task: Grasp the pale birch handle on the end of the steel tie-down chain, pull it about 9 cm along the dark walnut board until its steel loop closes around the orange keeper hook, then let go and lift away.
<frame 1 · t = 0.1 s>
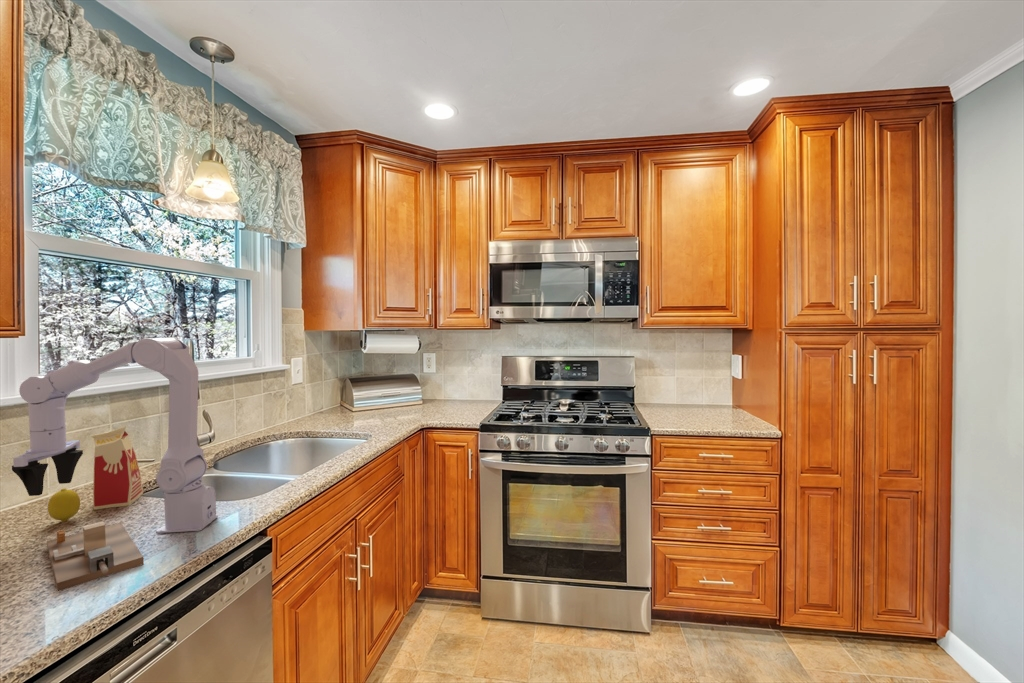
hand: (50, 488, 103), 10 cm above the countertop, tool pointing down, fingers open, 7 cm apart
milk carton: (116, 502, 122), on the countertop
keeper board: (93, 555, 93), on the countertop
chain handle: (82, 548, 87), point 4 cm above the countertop, slide at 0.0 cm
lemon: (65, 522, 110), on the countertop
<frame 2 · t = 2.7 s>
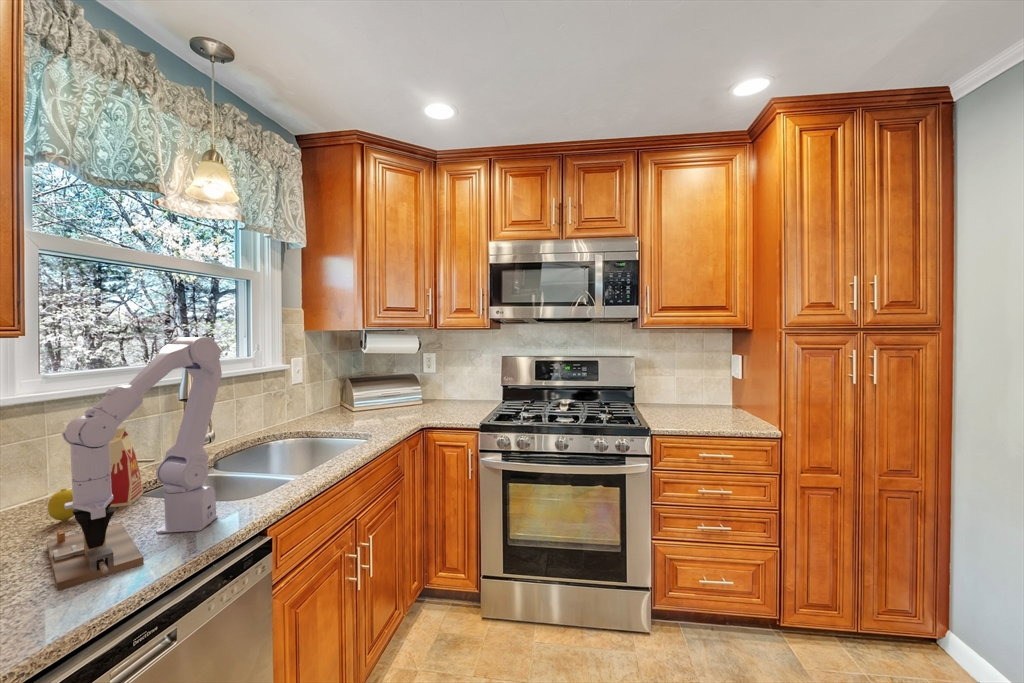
hand: (94, 544, 91), 3 cm above the countertop, tool pointing down, fingers closed on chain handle, 2 cm apart
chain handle: (82, 548, 87), point 4 cm above the countertop, slide at 0.0 cm, touching gripper
everything else where it was.
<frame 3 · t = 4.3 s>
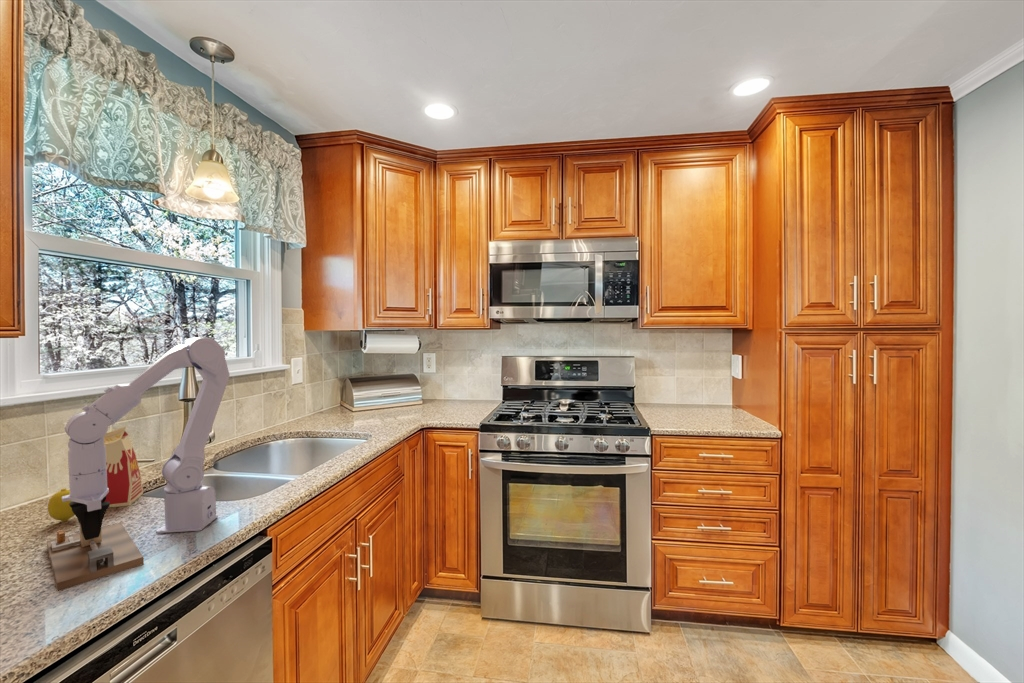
hand: (90, 535, 95), 3 cm above the countertop, tool pointing down, fingers closed on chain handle, 2 cm apart
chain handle: (79, 539, 91), point 4 cm above the countertop, slide at 5.6 cm, touching gripper
everything else where it was.
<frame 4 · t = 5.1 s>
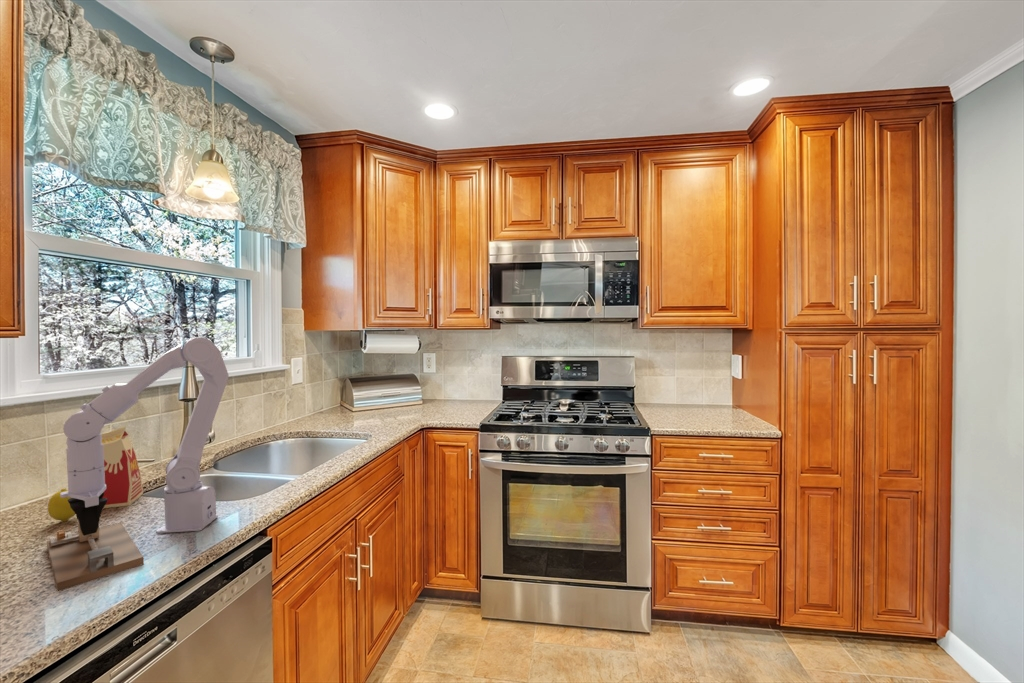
hand: (88, 531, 97), 3 cm above the countertop, tool pointing down, fingers closed on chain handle, 2 cm apart
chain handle: (77, 534, 93), point 4 cm above the countertop, slide at 8.7 cm, touching gripper
everything else where it was.
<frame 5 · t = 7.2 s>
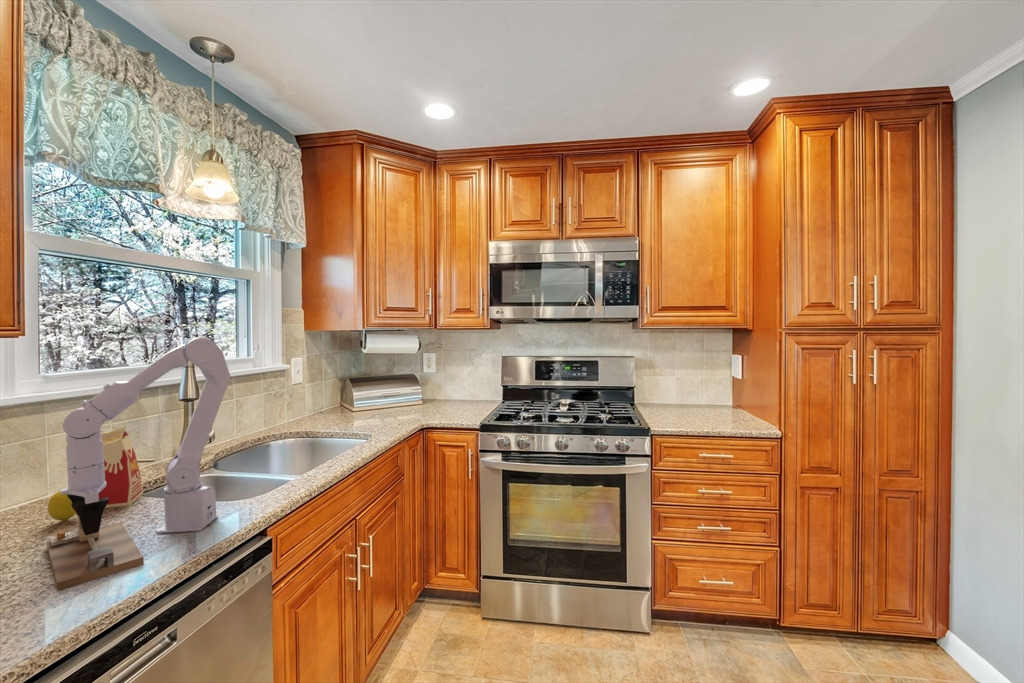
hand: (89, 528, 97), 4 cm above the countertop, tool pointing down, fingers open, 7 cm apart
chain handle: (77, 534, 93), point 4 cm above the countertop, slide at 8.8 cm
everything else where it was.
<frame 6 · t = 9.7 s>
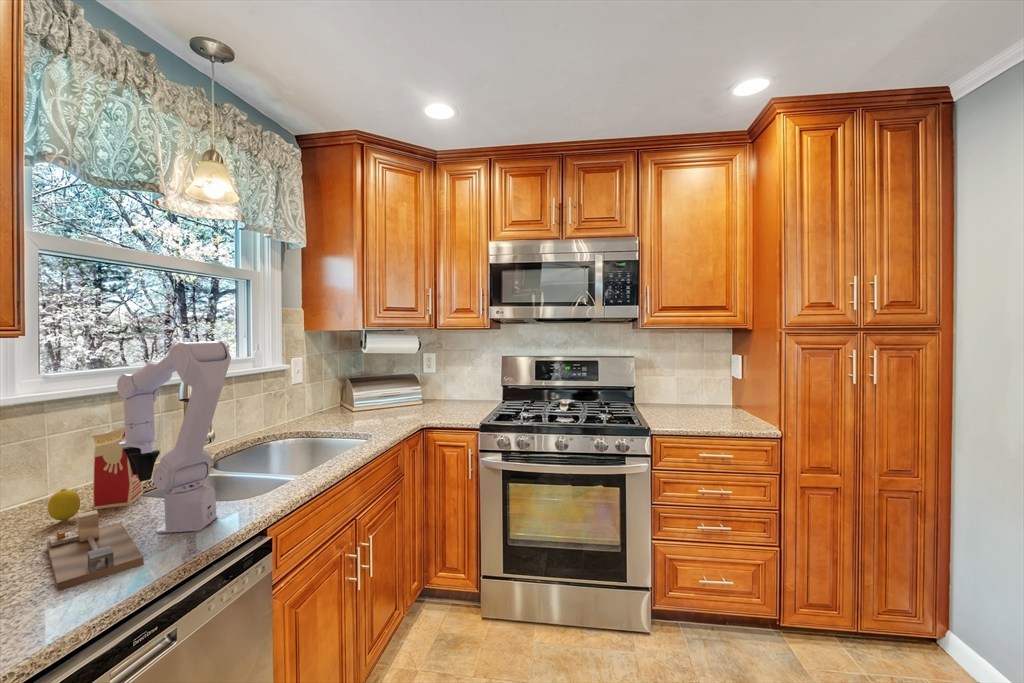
hand: (141, 477, 113), 9 cm above the countertop, tool pointing down, fingers open, 7 cm apart
nothing on the countertop moved.
at the end: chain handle slide at 8.8 cm; the gripper is holding nothing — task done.
